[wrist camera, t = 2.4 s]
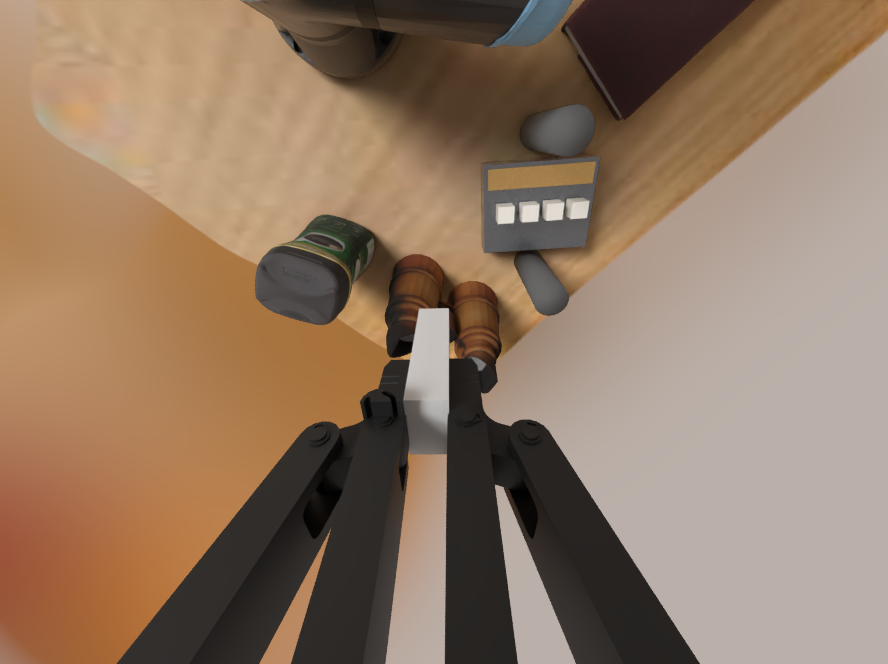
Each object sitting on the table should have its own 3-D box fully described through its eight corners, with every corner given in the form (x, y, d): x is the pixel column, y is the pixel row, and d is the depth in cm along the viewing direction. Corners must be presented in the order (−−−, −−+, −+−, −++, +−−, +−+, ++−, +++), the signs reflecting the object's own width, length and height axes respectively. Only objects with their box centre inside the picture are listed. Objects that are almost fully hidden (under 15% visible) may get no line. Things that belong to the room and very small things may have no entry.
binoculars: (506, 294, 53) (533, 370, 36) (481, 331, 57) (495, 416, 40) (404, 244, 48) (379, 305, 32) (384, 289, 52) (354, 363, 35)
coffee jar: (308, 256, 50) (243, 314, 34) (315, 206, 46) (244, 245, 30) (369, 276, 51) (333, 340, 36) (380, 230, 47) (346, 278, 32)
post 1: (521, 114, 39) (551, 106, 28) (553, 111, 39) (598, 102, 27) (519, 151, 42) (547, 158, 30) (550, 148, 41) (590, 155, 30)
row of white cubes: (495, 203, 41) (498, 207, 39) (582, 197, 40) (589, 200, 38) (495, 219, 42) (498, 224, 40) (580, 213, 42) (586, 218, 39)
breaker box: (481, 162, 42) (484, 165, 39) (588, 154, 42) (601, 156, 38) (481, 244, 48) (484, 253, 45) (575, 238, 47) (585, 246, 44)
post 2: (514, 248, 48) (535, 286, 37) (541, 247, 48) (571, 284, 36) (513, 273, 51) (533, 316, 39) (538, 271, 50) (566, 314, 38)
